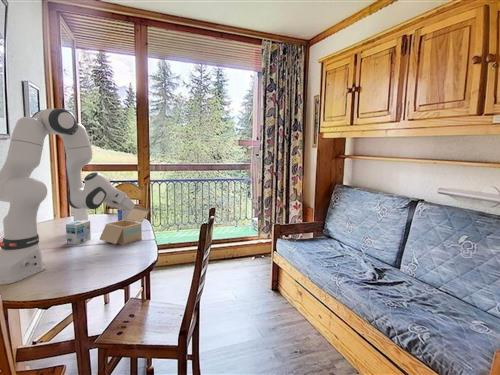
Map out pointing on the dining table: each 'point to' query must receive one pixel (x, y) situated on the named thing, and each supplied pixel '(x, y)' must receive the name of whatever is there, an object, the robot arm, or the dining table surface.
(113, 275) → the dining table surface
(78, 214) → the bottle
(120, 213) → the ink cartridge box
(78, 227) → the light bulb box
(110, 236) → the carton
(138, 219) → the flap
